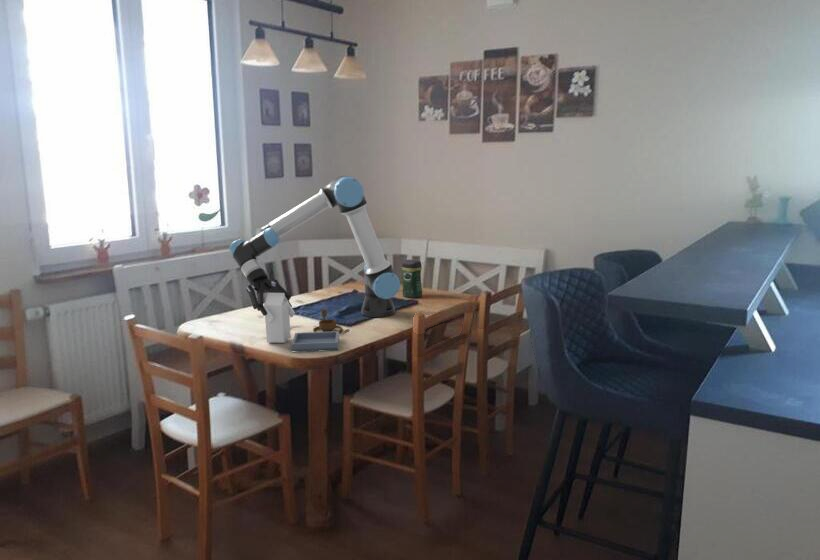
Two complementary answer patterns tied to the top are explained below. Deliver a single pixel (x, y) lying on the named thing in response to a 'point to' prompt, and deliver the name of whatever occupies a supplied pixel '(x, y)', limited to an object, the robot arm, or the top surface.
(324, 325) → the brown toy crab
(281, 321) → the milk carton
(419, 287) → the coffee jar
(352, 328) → the top surface
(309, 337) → the tray
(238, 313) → the top surface
